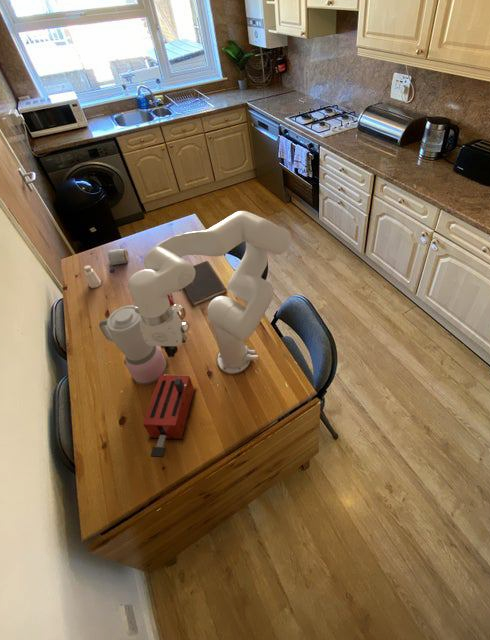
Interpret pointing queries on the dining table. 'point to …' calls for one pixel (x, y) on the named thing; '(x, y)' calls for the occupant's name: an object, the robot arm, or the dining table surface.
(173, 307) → the wineglass
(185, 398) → the toaster
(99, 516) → the dining table surface
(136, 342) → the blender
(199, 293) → the hardcover book
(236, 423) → the dining table surface
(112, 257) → the ceramic mug
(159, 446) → the bread lever
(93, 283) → the pepper shaker
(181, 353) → the dining table surface
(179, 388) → the browning slider
